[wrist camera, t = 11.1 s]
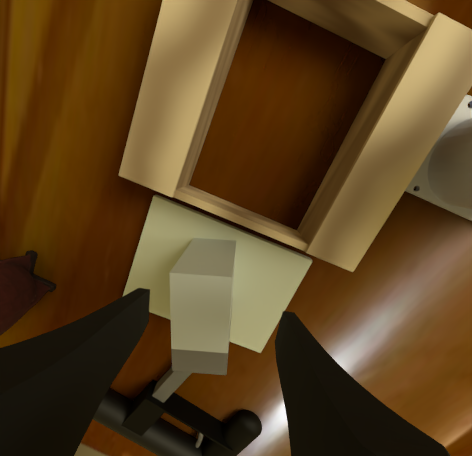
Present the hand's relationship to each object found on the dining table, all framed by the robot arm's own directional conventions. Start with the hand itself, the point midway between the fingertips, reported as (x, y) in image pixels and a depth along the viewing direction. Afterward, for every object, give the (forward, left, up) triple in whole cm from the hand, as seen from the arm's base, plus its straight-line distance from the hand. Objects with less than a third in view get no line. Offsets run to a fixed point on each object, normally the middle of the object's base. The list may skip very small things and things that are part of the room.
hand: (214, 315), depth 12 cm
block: (0, +3, -10) cm, 10 cm away
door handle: (-3, +21, -11) cm, 24 cm away
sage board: (0, +4, -10) cm, 11 cm away
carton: (0, -12, -10) cm, 16 cm away
